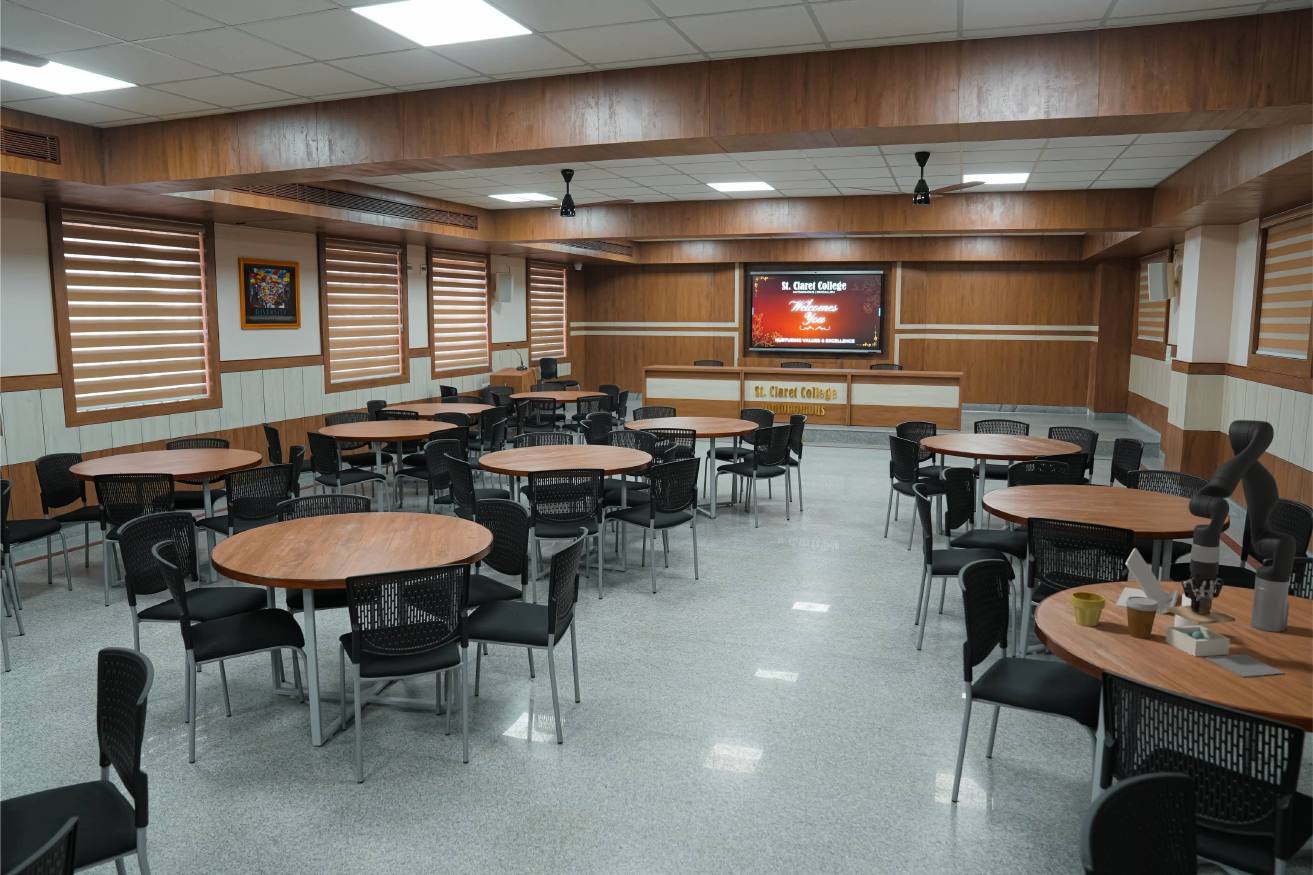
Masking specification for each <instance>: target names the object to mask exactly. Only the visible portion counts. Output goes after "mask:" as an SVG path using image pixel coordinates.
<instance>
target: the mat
mask: <svg viewBox="0 0 1313 875" xmlns="http://www.w3.org/2000/svg"><path fill="white" fill-rule="evenodd" d="M1205 659H1206V660H1207V661H1209V662H1211V663H1213V664H1215V665H1217V666H1219V667H1221V668H1223V669H1225V670H1227V669H1228V671H1230V672H1231V671H1232V673H1233V672H1234V673H1233V674H1235V673H1236V674H1235V675H1237V674H1238V676H1239V675H1240V676H1239V677H1241V676H1242V677H1241V678H1252V677H1253V678H1254V677H1264V676H1265V675H1267V676H1275V675H1274V674H1280V675H1285V672H1284V671H1282V670H1279V669H1278V668H1275V667H1273V666H1271V665H1269V664H1266V663H1264V662H1263V661H1260V660H1258V659H1256V658H1254V657H1251V656H1249V655H1248V654H1235V655H1233V654H1232V655H1222V656H1221V655H1220V656H1219V655H1218V656H1205Z"/></svg>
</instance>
